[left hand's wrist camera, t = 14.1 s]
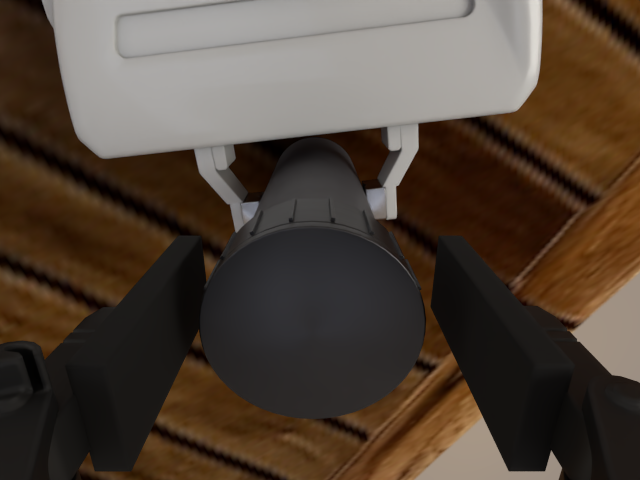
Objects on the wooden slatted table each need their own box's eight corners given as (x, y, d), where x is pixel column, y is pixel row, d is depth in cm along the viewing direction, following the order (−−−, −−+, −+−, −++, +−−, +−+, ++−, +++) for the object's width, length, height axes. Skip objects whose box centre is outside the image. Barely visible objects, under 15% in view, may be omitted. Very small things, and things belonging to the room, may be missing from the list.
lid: (186, 320, 13) (160, 368, 11) (273, 157, 11) (263, 176, 9) (344, 392, 15) (349, 449, 12) (447, 255, 13) (476, 294, 10)
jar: (261, 192, 27) (185, 352, 12) (299, 121, 26) (272, 196, 10) (329, 229, 28) (344, 422, 13) (370, 163, 27) (447, 292, 11)
